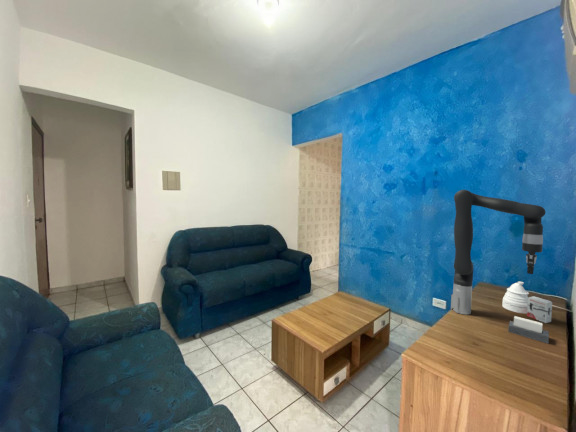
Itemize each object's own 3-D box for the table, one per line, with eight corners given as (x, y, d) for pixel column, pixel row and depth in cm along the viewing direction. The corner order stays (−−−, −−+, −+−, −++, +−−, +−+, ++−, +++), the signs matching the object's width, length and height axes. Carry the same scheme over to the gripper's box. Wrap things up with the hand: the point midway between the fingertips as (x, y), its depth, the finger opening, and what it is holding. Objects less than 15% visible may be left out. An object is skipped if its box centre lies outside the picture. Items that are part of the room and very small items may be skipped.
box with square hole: (508, 331, 122) (508, 325, 121) (509, 326, 126) (509, 320, 126) (548, 343, 111) (548, 336, 111) (548, 338, 116) (548, 331, 116)
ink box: (526, 316, 138) (527, 296, 137) (531, 315, 139) (533, 295, 139) (546, 323, 130) (547, 302, 129) (551, 322, 131) (552, 301, 131)
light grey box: (513, 330, 121) (514, 318, 121) (513, 328, 124) (514, 315, 123) (541, 339, 114) (542, 325, 114) (541, 336, 116) (542, 323, 116)
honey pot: (536, 313, 141) (538, 284, 140) (515, 313, 141) (517, 284, 140) (516, 304, 154) (518, 277, 153) (496, 304, 154) (498, 277, 153)
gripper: (542, 245, 117) (540, 276, 118) (542, 241, 126) (540, 270, 127) (521, 243, 122) (519, 273, 123) (523, 240, 132) (521, 268, 133)
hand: (530, 272), depth 125 cm, fingers open, 8 cm apart
